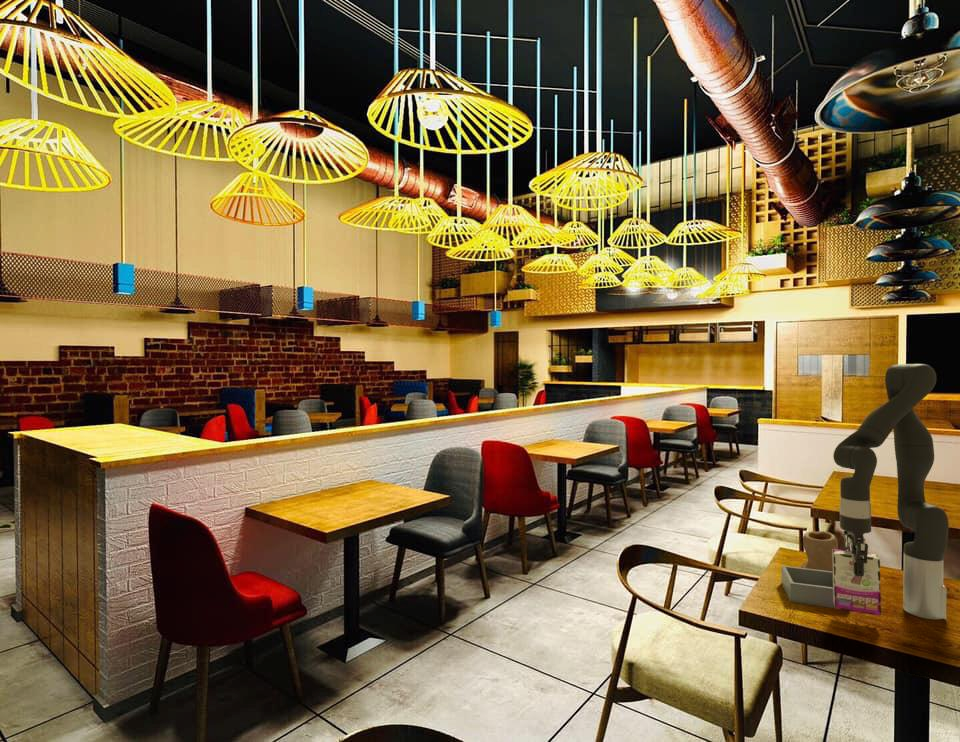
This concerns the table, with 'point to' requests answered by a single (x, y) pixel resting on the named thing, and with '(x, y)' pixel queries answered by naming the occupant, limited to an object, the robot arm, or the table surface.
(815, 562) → the stone cup
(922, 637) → the table surface
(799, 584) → the tote
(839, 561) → the candy bar box
